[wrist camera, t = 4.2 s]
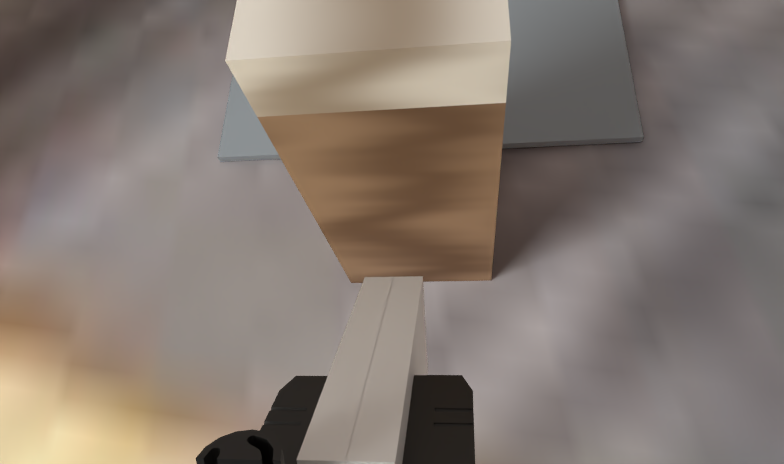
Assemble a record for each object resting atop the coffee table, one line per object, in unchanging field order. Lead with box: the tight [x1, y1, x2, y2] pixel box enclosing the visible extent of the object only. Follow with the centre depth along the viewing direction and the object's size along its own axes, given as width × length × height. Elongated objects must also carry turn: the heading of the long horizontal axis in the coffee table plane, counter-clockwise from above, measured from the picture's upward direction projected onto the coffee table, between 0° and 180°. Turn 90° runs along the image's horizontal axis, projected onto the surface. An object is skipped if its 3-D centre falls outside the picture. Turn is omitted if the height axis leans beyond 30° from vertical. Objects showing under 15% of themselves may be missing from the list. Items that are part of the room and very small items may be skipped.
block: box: [225, 0, 511, 283], centre depth 19 cm, size 6×6×14 cm
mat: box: [218, 0, 644, 162], centre depth 30 cm, size 20×14×1 cm
